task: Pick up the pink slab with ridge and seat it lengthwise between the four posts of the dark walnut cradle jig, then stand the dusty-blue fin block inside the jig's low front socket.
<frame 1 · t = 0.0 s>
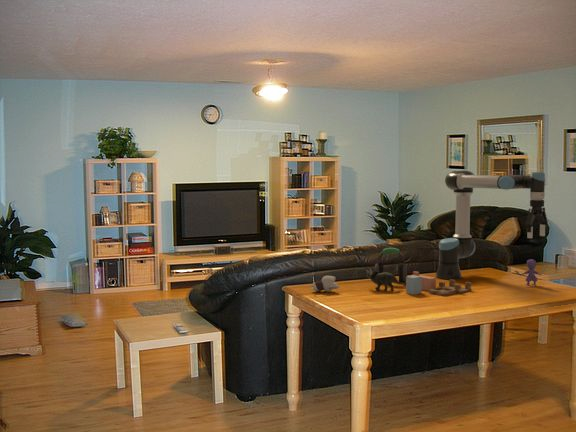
hand: (536, 237, 372), 28 cm above the table, fingers open, 13 cm apart
headphones: (390, 281, 391), on the table
toy 2: (325, 292, 362), on the table
toy: (530, 285, 376), on the table
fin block: (413, 292, 358), on the table
jig: (454, 290, 364), on the table
dinosaur figurine: (384, 290, 366), on the table
pink slab with ridge: (422, 288, 370), on the table
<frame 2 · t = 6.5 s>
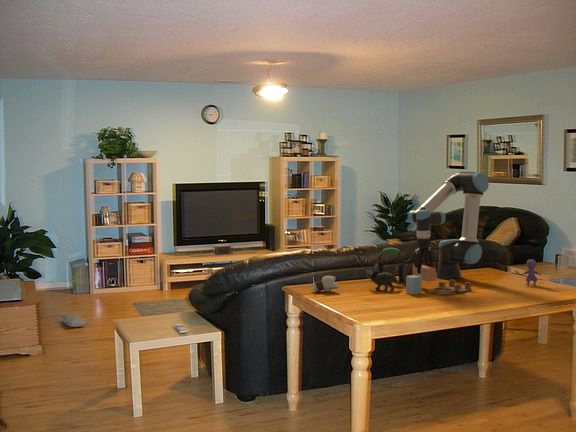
hand: (423, 278, 369), 6 cm above the table, fingers closed on pink slab with ridge, 6 cm apart
pink slab with ridge: (424, 278, 369), point 5 cm above the table, touching gripper
everything else where it was.
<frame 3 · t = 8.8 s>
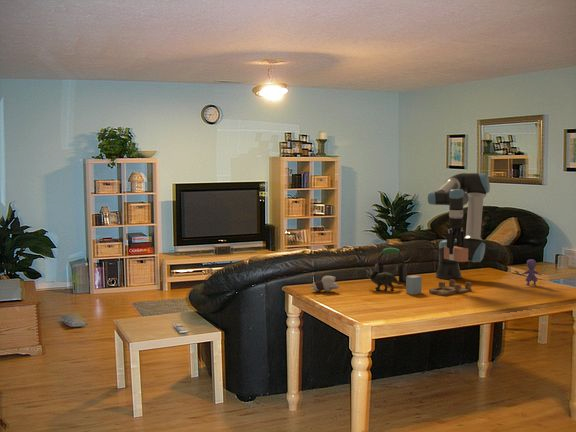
hand: (455, 259, 362), 17 cm above the table, fingers closed on pink slab with ridge, 6 cm apart
pink slab with ridge: (455, 259, 362), point 17 cm above the table, touching gripper
everything else where it was.
when the fingers open (2 cm above the table, at t = 11.3 s): pink slab with ridge stays where it is, resting on jig.
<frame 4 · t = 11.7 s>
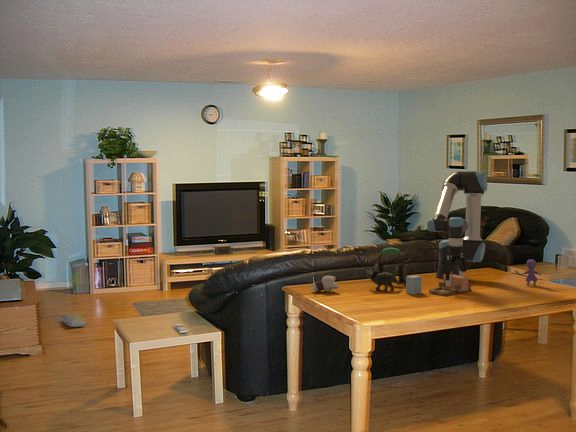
hand: (455, 284, 364), 3 cm above the table, fingers open, 11 cm apart
pink slab with ridge: (455, 288, 364), point 1 cm above the table, touching jig
everything else where it was.
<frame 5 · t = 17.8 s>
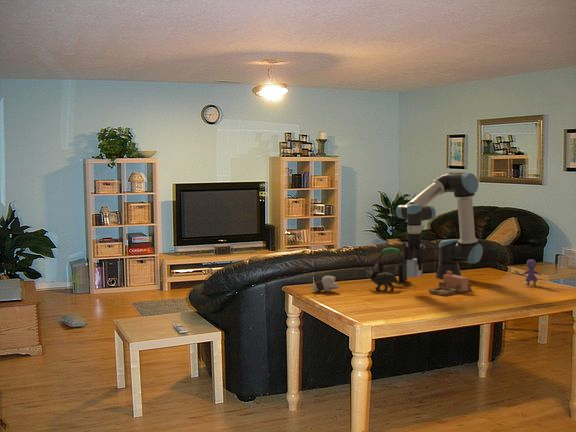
hand: (414, 275, 358), 10 cm above the table, fingers closed on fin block, 5 cm apart
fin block: (414, 276, 358), point 9 cm above the table, touching gripper
everything else where it was.
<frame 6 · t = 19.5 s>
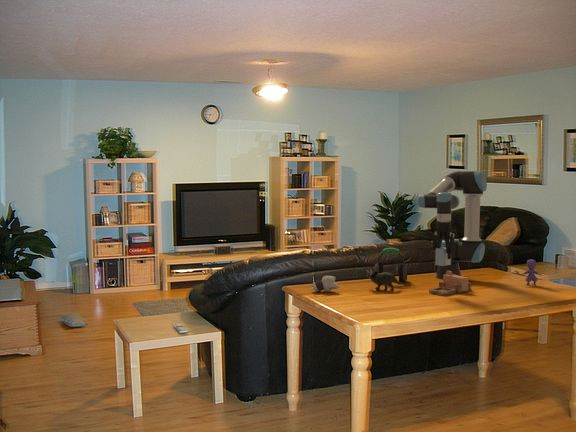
hand: (443, 264, 355), 16 cm above the table, fingers closed on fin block, 5 cm apart
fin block: (443, 264, 355), point 16 cm above the table, touching gripper
everything else where it was.
when the fingers open (3 cm above the table, at t = 21.6 s): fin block drops 1 cm, resting on jig.
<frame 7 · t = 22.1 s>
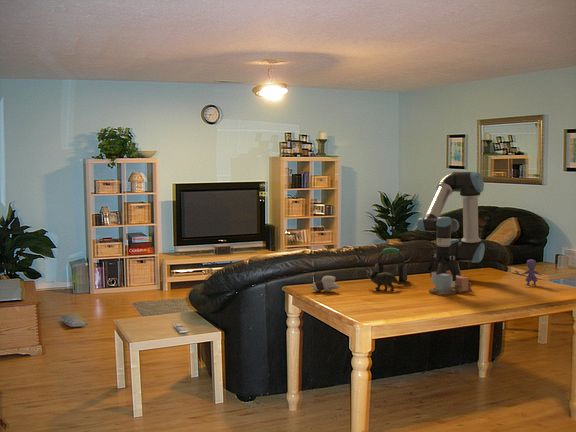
hand: (442, 285, 356), 4 cm above the table, fingers open, 12 cm apart
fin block: (442, 291, 357), point 1 cm above the table, touching jig
everything else where it was.
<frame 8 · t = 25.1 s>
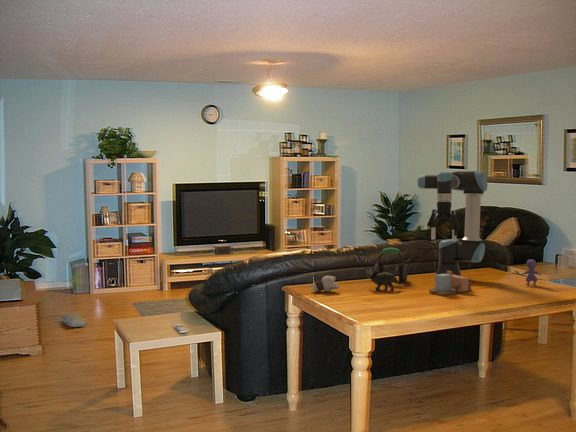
hand: (443, 240, 354), 29 cm above the table, fingers open, 13 cm apart
nothing on the table moved.
at the end: pink slab with ridge 0.3 cm off-centre on the jig, point 1.0 cm above the jig's base; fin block 0.0 cm from the target spot on the jig, point 1.0 cm above the jig's base; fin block tilted 0° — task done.
